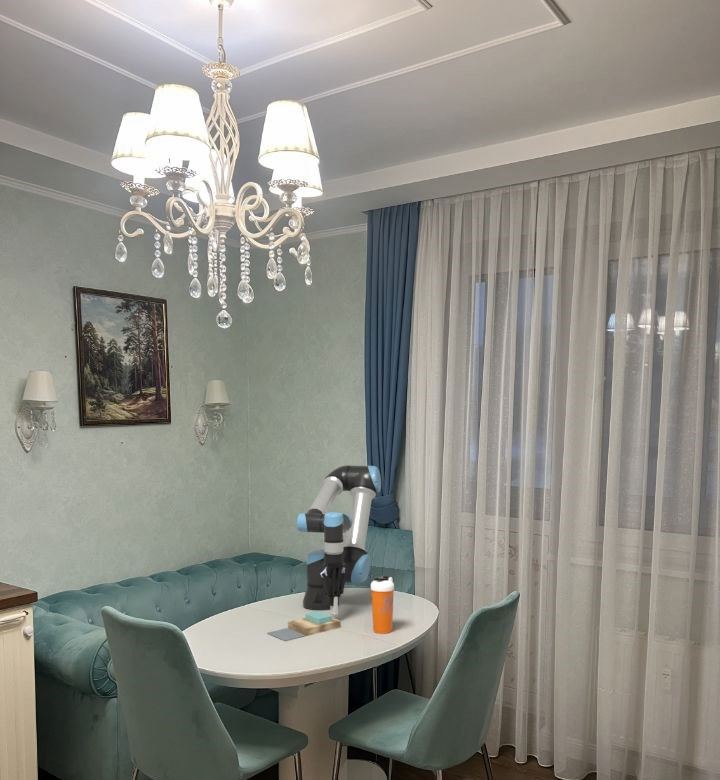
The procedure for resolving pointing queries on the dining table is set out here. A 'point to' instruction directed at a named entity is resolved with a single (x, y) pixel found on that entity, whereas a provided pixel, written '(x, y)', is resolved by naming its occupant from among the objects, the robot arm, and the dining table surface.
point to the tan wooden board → (312, 626)
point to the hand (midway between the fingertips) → (334, 613)
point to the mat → (286, 634)
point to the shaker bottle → (382, 604)
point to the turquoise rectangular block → (318, 617)
